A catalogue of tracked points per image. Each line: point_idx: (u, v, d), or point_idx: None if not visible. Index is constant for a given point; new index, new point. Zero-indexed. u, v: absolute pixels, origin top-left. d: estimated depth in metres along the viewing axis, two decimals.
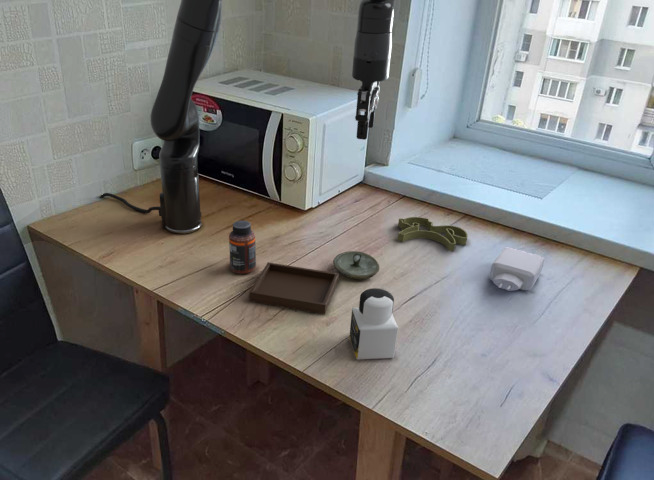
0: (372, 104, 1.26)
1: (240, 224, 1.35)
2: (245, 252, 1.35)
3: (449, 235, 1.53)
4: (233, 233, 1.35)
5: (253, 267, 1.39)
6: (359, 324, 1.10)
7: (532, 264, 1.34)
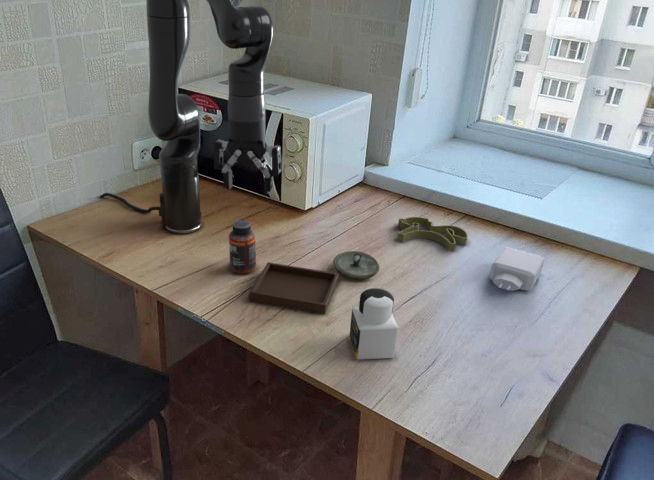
0: (229, 159, 1.27)
1: (240, 224, 1.35)
2: (245, 252, 1.35)
3: (449, 235, 1.53)
4: (233, 233, 1.35)
5: (253, 267, 1.39)
6: (359, 324, 1.10)
7: (532, 264, 1.34)
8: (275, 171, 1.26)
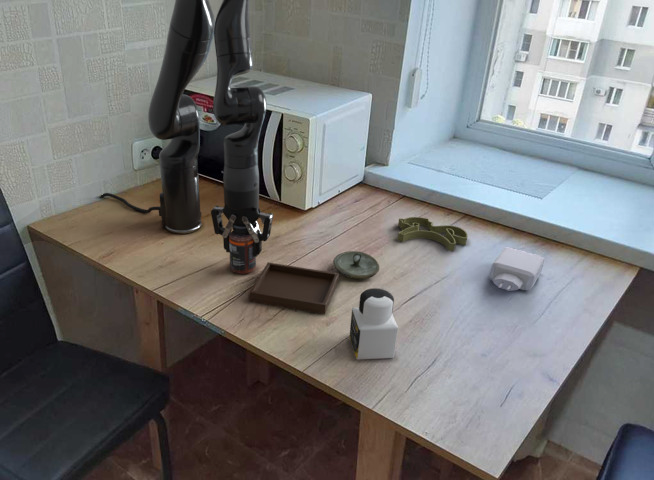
0: None
1: None
2: (245, 252, 1.35)
3: (449, 235, 1.53)
4: (233, 233, 1.35)
5: (253, 267, 1.39)
6: (359, 324, 1.10)
7: (532, 265, 1.34)
8: (264, 237, 1.33)
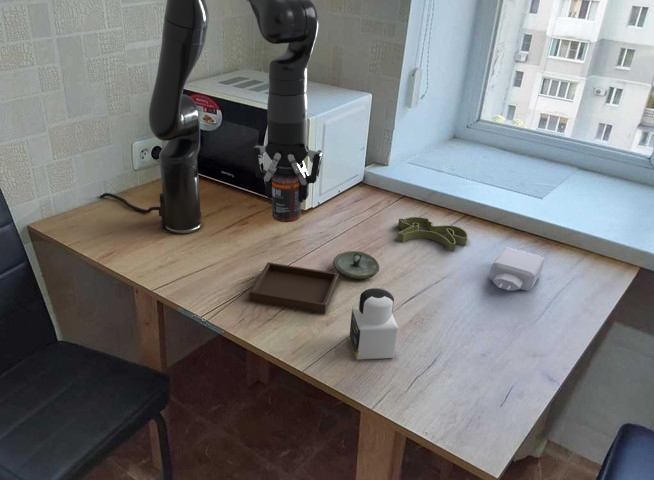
0: (270, 165, 1.19)
1: None
2: (290, 197, 1.20)
3: (449, 235, 1.53)
4: (277, 175, 1.20)
5: (298, 215, 1.23)
6: (359, 324, 1.10)
7: (532, 265, 1.34)
8: (312, 178, 1.18)
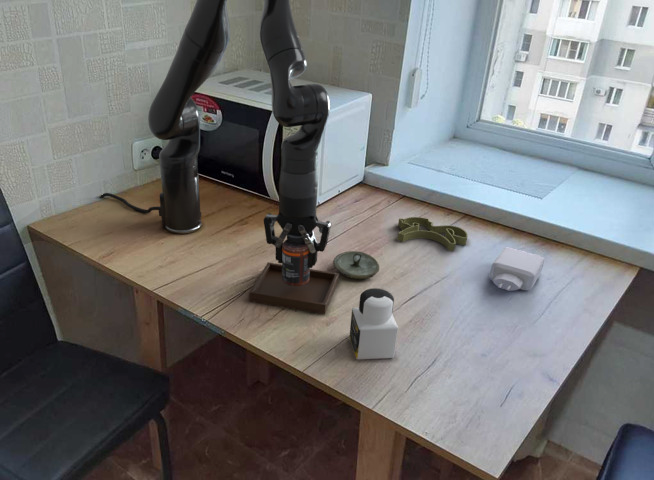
0: None
1: None
2: (300, 263, 1.26)
3: (449, 235, 1.53)
4: (287, 243, 1.25)
5: (307, 279, 1.29)
6: (359, 324, 1.10)
7: (532, 264, 1.34)
8: (321, 247, 1.24)
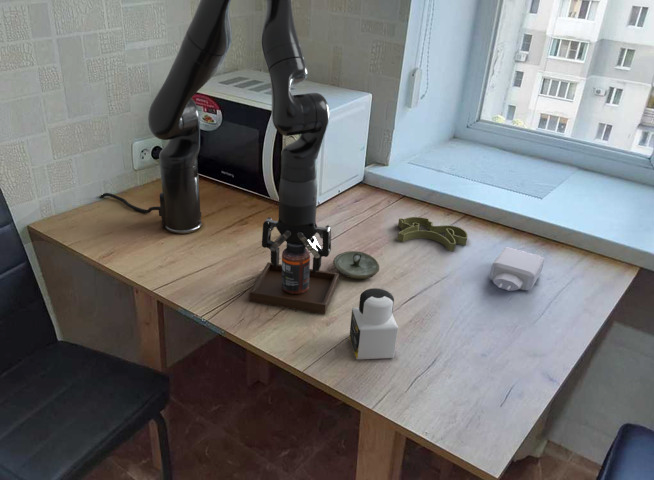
0: (278, 238, 1.25)
1: None
2: (300, 272, 1.27)
3: (449, 235, 1.53)
4: (287, 251, 1.26)
5: (307, 287, 1.30)
6: (359, 324, 1.10)
7: (532, 264, 1.34)
8: (325, 252, 1.24)
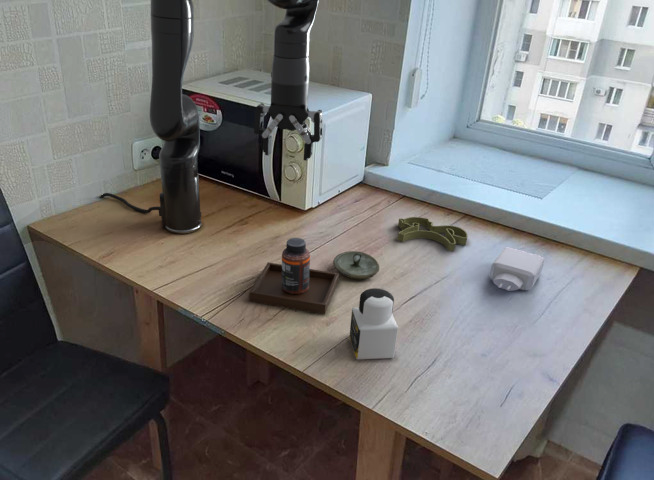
0: None
1: (294, 242, 1.26)
2: (300, 272, 1.27)
3: (449, 235, 1.53)
4: (287, 251, 1.26)
5: (307, 287, 1.30)
6: (359, 324, 1.10)
7: (532, 264, 1.34)
8: (316, 137, 1.25)
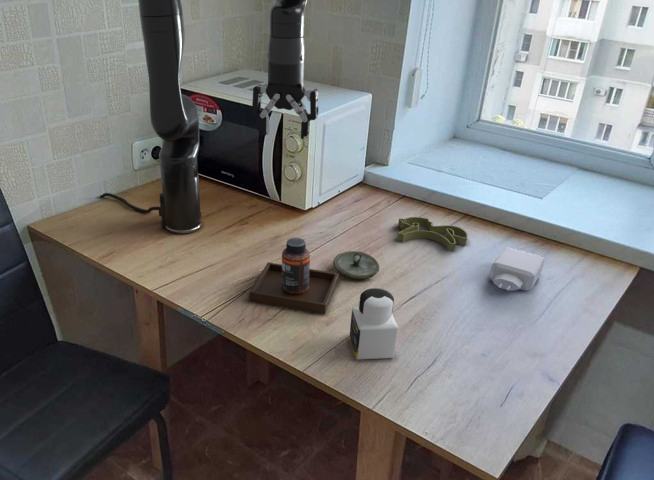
0: (268, 103, 1.30)
1: (294, 242, 1.26)
2: (300, 272, 1.27)
3: (449, 235, 1.53)
4: (287, 251, 1.26)
5: (307, 287, 1.30)
6: (359, 324, 1.10)
7: (532, 265, 1.34)
8: (313, 115, 1.29)
